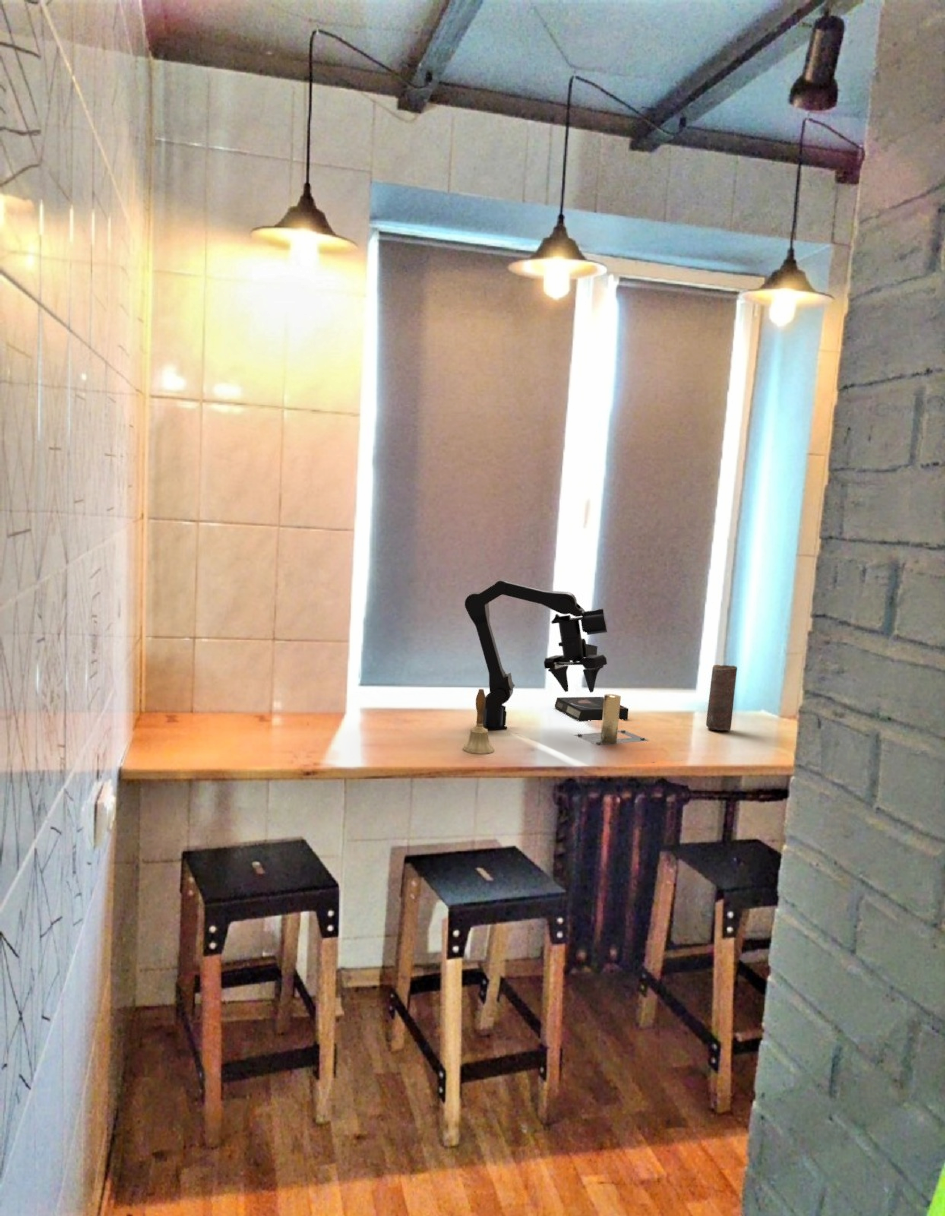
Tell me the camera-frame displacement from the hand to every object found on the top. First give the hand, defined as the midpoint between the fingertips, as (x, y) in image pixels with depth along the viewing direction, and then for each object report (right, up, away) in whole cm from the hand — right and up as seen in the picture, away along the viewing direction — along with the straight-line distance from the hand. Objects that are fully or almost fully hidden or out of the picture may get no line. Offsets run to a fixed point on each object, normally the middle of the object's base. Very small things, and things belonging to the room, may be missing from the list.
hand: (579, 691), depth 260 cm
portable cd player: (+7, -10, +31) cm, 34 cm away
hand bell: (-28, -14, -19) cm, 37 cm away
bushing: (+7, -13, -6) cm, 16 cm away
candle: (+44, -14, +21) cm, 51 cm away
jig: (+8, -14, -3) cm, 17 cm away
